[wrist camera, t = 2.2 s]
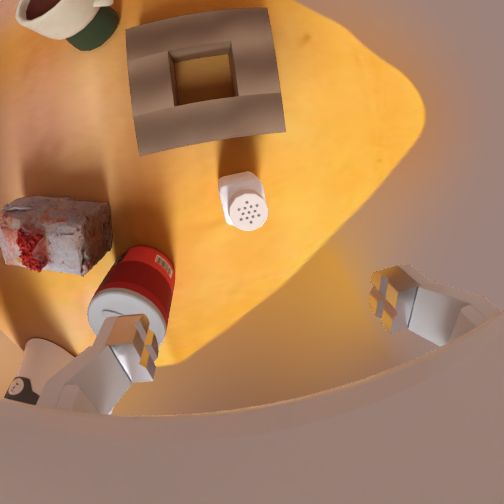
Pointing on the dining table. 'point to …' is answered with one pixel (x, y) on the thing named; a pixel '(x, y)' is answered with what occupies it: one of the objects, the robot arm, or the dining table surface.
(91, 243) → the food item
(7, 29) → the dining table surface
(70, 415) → the robot arm
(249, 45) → the socket
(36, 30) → the character mug
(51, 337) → the dining table surface
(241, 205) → the pepper shaker
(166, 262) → the canned food
